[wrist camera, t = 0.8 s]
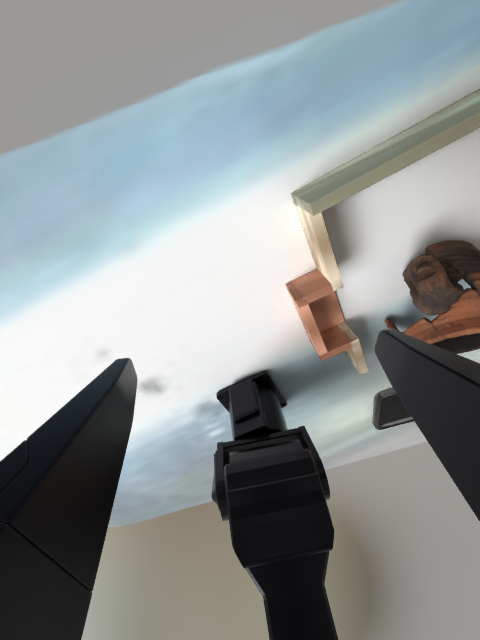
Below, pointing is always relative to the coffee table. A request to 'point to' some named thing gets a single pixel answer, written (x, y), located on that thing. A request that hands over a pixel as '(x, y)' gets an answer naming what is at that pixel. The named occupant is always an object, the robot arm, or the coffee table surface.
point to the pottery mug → (446, 296)
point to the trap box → (352, 177)
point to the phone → (389, 410)
